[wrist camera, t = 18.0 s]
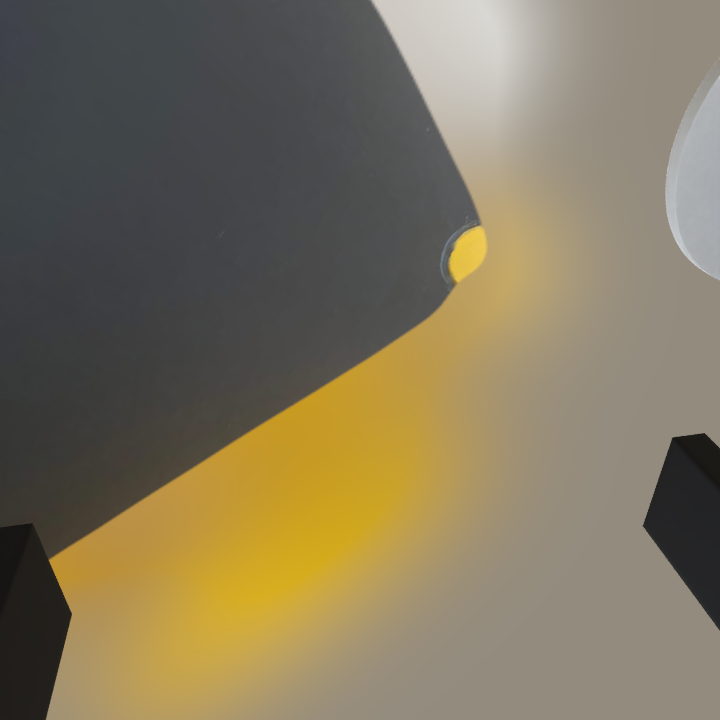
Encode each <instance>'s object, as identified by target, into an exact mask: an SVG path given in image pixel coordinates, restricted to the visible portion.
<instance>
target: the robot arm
mask: <svg viewBox="0 0 720 720" xmlns="http://www.w3.org/2000/svg"><path fill="white" fill-rule="evenodd" d="M643 527H644V528H645V529H646V531H647V532H648V534H649V535H650V536H651V538H652V539H653V540H654V542H655V543H656V544H657V546H658V547H659V548H660V550H661V551H662V553H663V554H664V555H665V557H666V558H667V559H668V561H669V562H670V563H671V565H672V566H673V568H674V569H675V570H676V572H677V573H678V574H679V576H680V577H681V578H682V580H683V581H684V583H685V584H686V585H687V586H688V588H689V589H690V590H691V592H692V593H693V595H694V596H695V597H696V599H697V600H698V601H699V603H700V604H701V605H702V607H703V608H704V610H705V611H706V612H707V614H708V615H709V616H710V618H711V619H712V621H713V622H714V623H715V625H716V626H717V627H718V629H719V630H720V448H719V447H718V446H717V445H716V444H715V443H714V442H713V441H712V440H711V439H710V438H709V437H708V436H707V435H706V434H705V433H703V434H695V435H688V436H680V437H673V438H672V441H671V444H670V447H669V450H668V453H667V456H666V459H665V462H664V465H663V468H662V471H661V474H660V477H659V479H658V482H657V485H656V488H655V491H654V494H653V497H652V500H651V503H650V506H649V509H648V512H647V515H646V518H645V522H644V524H643ZM71 616H72V613H71V611H70V609H69V606H68V604H67V602H66V599H65V597H64V595H63V592H62V590H61V588H60V586H59V583H58V581H57V579H56V576H55V574H54V572H53V569H52V567H51V565H50V562H49V560H48V558H47V555H46V553H45V551H44V549H43V546H42V544H41V542H40V539H39V537H38V535H37V532H36V530H35V528H34V525H33V523H31V524H24V525H16V526H9V527H1V528H0V720H46V716H47V712H48V708H49V704H50V700H51V696H52V692H53V688H54V684H55V680H56V676H57V672H58V668H59V664H60V660H61V656H62V652H63V648H64V644H65V640H66V636H67V632H68V628H69V623H70V620H71Z"/></svg>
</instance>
